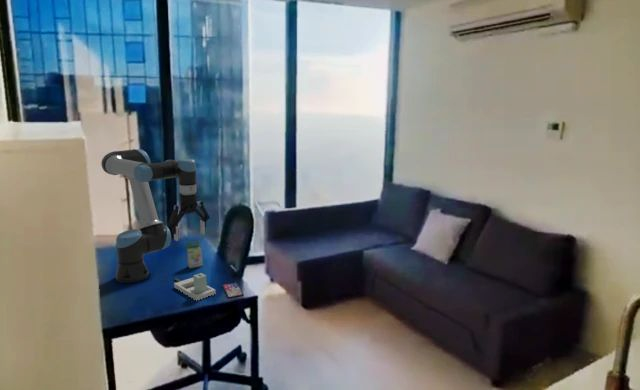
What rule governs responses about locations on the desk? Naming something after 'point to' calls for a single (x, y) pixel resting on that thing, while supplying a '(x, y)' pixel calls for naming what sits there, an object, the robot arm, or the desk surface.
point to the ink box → (194, 255)
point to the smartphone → (232, 290)
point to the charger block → (200, 283)
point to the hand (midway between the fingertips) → (189, 237)
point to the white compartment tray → (192, 289)
